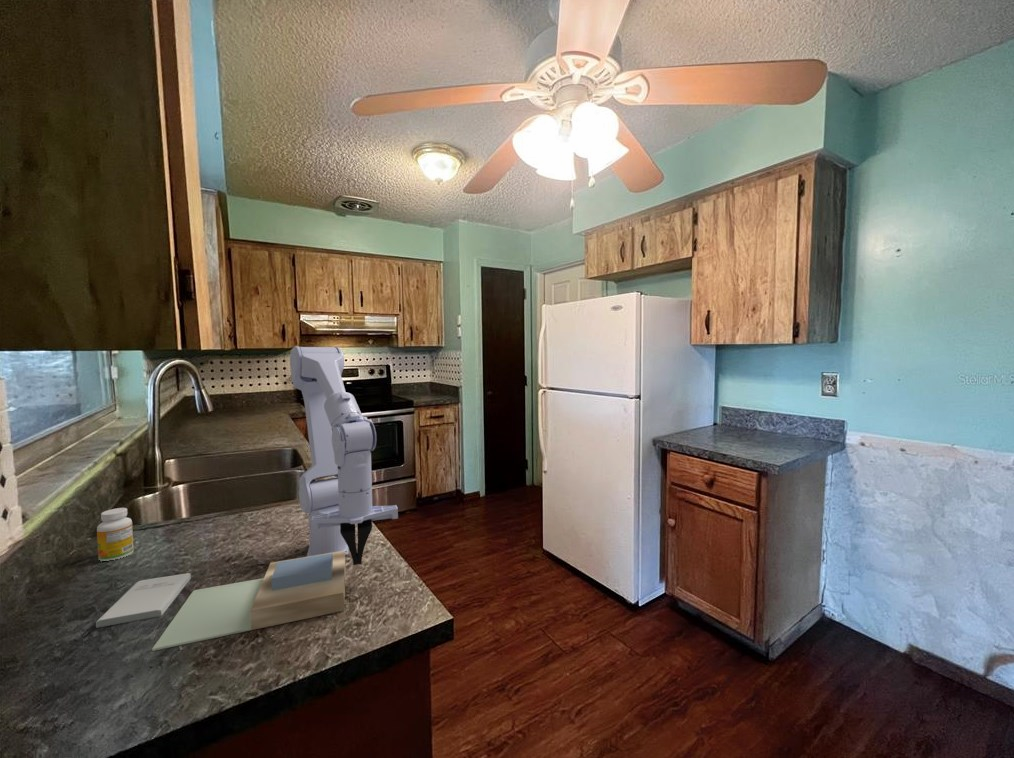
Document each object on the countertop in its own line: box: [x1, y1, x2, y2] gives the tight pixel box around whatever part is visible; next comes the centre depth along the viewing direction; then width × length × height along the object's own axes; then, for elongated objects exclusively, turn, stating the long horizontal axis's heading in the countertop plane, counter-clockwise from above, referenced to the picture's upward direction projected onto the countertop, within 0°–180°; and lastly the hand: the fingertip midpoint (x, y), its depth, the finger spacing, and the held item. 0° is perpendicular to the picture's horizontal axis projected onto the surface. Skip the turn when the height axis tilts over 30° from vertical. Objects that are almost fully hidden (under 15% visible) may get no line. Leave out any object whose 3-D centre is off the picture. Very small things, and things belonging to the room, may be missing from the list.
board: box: [250, 551, 347, 631], centre depth 71 cm, size 16×13×3 cm
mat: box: [151, 577, 264, 652], centre depth 67 cm, size 16×12×1 cm
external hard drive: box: [95, 573, 192, 629], centre depth 70 cm, size 2×8×12 cm
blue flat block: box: [271, 553, 333, 591], centre depth 71 cm, size 6×9×2 cm, turn 111°
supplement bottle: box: [96, 507, 134, 562], centre depth 86 cm, size 5×5×10 cm
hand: (357, 562), depth 74 cm, fingers closed
